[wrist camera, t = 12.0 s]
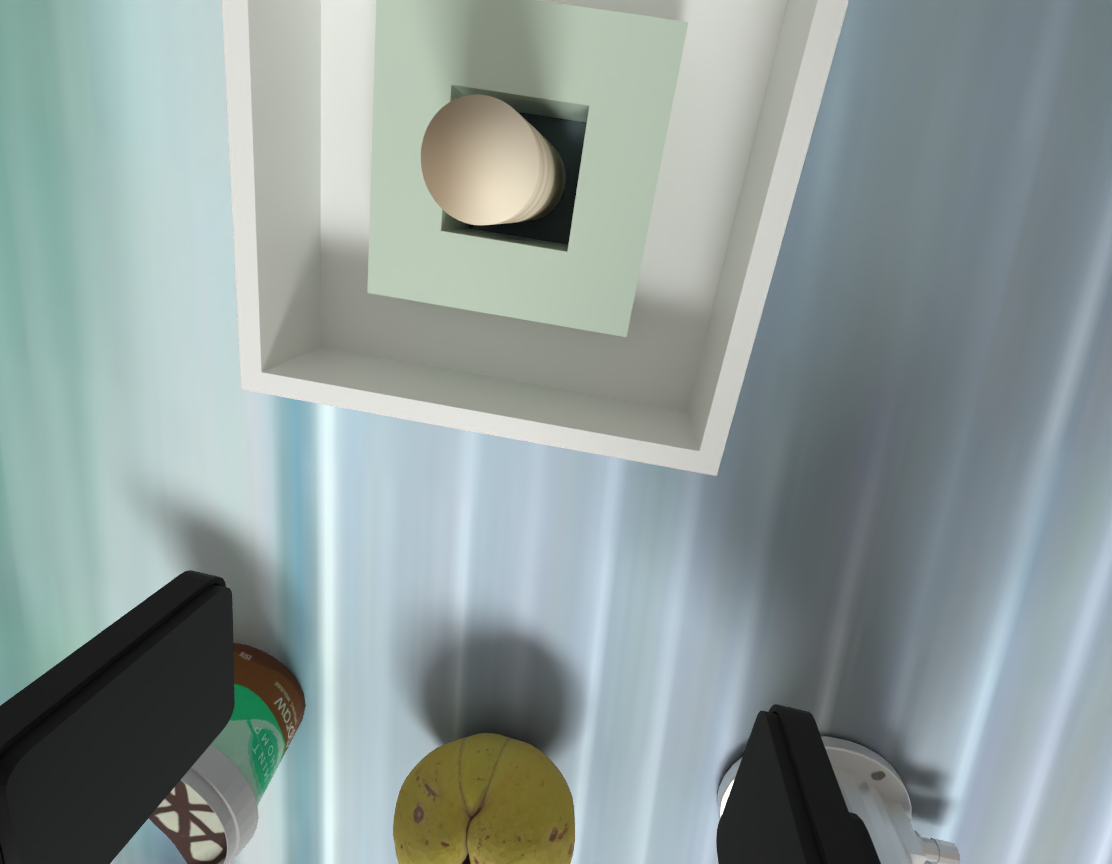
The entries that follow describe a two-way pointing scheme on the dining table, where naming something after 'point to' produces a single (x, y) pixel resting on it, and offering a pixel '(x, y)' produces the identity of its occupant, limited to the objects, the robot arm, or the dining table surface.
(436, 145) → the peg
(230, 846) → the food container
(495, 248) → the box
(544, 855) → the fruit
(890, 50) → the dining table surface
